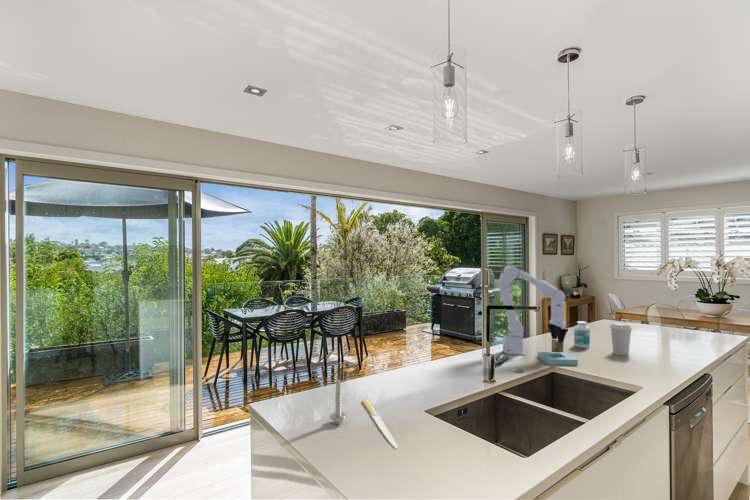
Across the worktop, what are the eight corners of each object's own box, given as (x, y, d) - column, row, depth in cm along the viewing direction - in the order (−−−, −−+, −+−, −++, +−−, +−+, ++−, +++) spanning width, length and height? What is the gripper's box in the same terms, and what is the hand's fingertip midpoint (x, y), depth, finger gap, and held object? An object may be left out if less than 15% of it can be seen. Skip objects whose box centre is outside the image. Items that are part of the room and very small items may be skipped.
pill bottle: (571, 345, 207) (571, 321, 207) (580, 344, 210) (580, 320, 211) (583, 349, 201) (583, 323, 201) (592, 347, 204) (592, 322, 204)
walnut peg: (555, 355, 188) (555, 341, 188) (551, 353, 192) (551, 339, 192) (563, 355, 188) (563, 341, 188) (559, 353, 192) (559, 339, 192)
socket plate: (548, 364, 172) (548, 359, 172) (537, 356, 185) (537, 351, 185) (577, 365, 172) (577, 359, 172) (564, 357, 185) (564, 352, 185)
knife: (408, 451, 99) (391, 451, 98) (373, 402, 131) (360, 401, 130) (408, 446, 99) (392, 445, 98) (374, 398, 131) (361, 397, 130)
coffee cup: (613, 355, 189) (613, 325, 189) (607, 350, 198) (607, 321, 198) (635, 356, 186) (635, 326, 186) (628, 351, 195) (628, 322, 195)
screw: (326, 423, 113) (338, 417, 117) (338, 428, 110) (349, 422, 114) (326, 379, 113) (338, 375, 117) (338, 383, 110) (349, 379, 114)
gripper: (572, 315, 182) (572, 344, 182) (559, 311, 197) (559, 337, 197) (557, 315, 183) (557, 344, 183) (545, 311, 197) (545, 337, 197)
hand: (557, 340), depth 190 cm, fingers open, 7 cm apart
